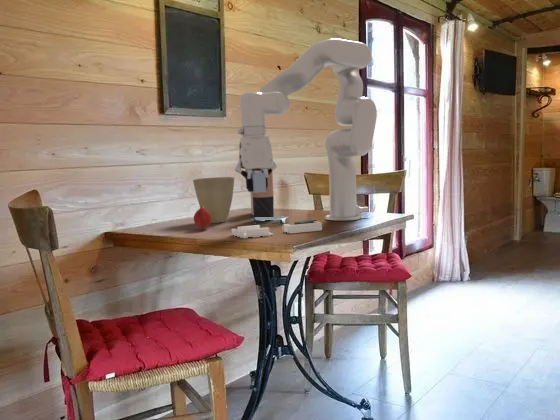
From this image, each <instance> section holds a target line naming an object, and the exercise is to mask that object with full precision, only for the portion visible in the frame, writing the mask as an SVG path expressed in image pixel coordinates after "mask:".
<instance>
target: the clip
mask: <svg viewBox="0 0 560 420" xmlns="http://www.w3.org/2000/svg"><path fill="white" fill-rule="evenodd" d="M283 228H284V233H286V232H287V233H286V234H297V233H298V234H300V233H308V232H317V231H322V230H323V223H322V222H320V221H313V223H309V224H298V225H295V224H289V223H286V224H285V223H284V224H283Z"/></svg>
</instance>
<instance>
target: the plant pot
mask: <svg viewBox="0 0 560 420" xmlns="http://www.w3.org/2000/svg"><path fill="white" fill-rule="evenodd" d="M192 180H193V186H194V190H195V195H196V199H197V202H198V205H199V209H200V208H201V206H204V208H205V209H206V210H208V211H209V213H210V214H211V218H212V219H211V223H210V224H220V222H221V223H226V222H227V221H228V218H229V214H230V210H231V206H232V201H233V195H234V187H235V176H218V177H201V178H193V179H192Z"/></svg>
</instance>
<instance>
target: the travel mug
mask: <svg viewBox="0 0 560 420" xmlns="http://www.w3.org/2000/svg"><path fill="white" fill-rule="evenodd" d="M267 169H268V168H267ZM252 171H261V170H260V169H252ZM273 174H274V173H273V171H272V172H271V173H270V174H269V177H267V181H268V187H267V190H266V192H259V193H252V197H253V212H254V216H253V218H254V217H275V215H274V213H275V211H274V210H275V209H274V207H275V206H274V205H275V204H274V201H275V199H274V180H273Z"/></svg>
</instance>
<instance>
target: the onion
mask: <svg viewBox="0 0 560 420" xmlns="http://www.w3.org/2000/svg"><path fill="white" fill-rule="evenodd" d="M211 219H212V218H211V214H210V213H209V211H208V210H206V209H205V208H204V206H201V208H200V207H199V208H198V209H197V210H196V212H195V213H194V215H193V223H194V224H195V226H197V227H198V228H199V229H201V230H202V231H203V230H205V229H207V228H208V226H210V225H211V224H212V223H211Z"/></svg>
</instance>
